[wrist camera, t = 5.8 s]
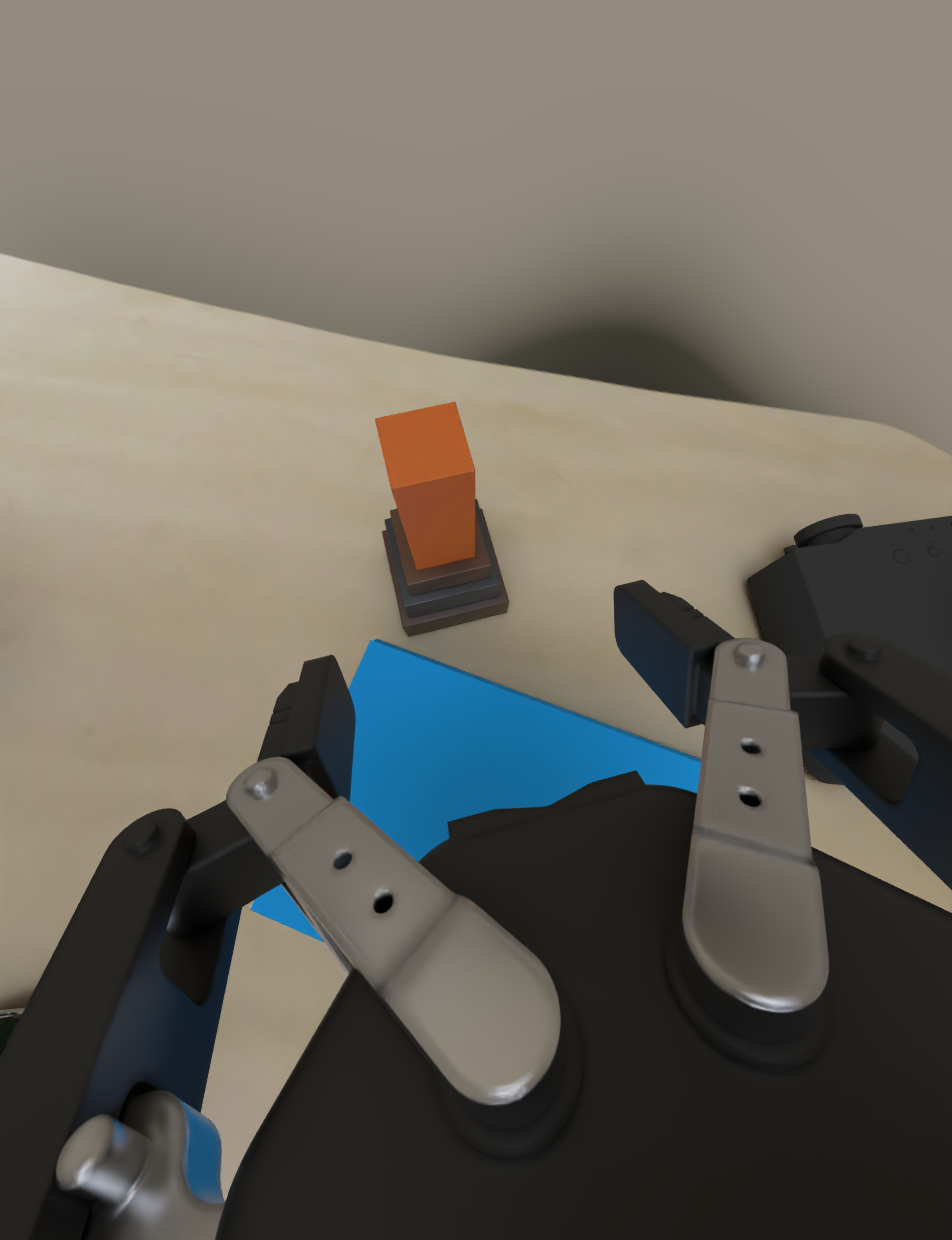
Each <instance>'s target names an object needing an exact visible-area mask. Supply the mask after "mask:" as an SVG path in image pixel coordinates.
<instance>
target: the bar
mask: <svg viewBox="0 0 952 1240" xmlns="http://www.w3.org/2000/svg"><path fill="white" fill-rule="evenodd" d="M375 422H376V426H377V430H378V434H379V439H380V443H381V447H382V452H383V456H384V460H385V464H386V469H387V473H388V477H389V482H390V486H391V490H392V493H393V496H394V499H395V502H396V506H397V509H398V512H399V515H400V518H401V521H402V524H403V528H404V531H405V534H406V537H407V540H408V543H409V547H410V550H411V553H412V556H413V559H414V562H415V565H416V569H417V570H421V569H425V568H429V567H434V566H438V565H442V564H446V563H451V562H455V561H459V560H463V559H468V558H472V557H475V468H474V464H473V461H472V458H471V454H470V451H469V447H468V444H467V441H466V437H465V434H464V430H463V427H462V423H461V420H460V417H459V413H458V410H457V406H456V403H455V402H452V403H447V404H442V405H437V406H433V407H428V408H423V409H418V410H414V411H409V412H404V413H399V414H395V415H390V416H385V417H380V418H376V419H375Z"/></svg>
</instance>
